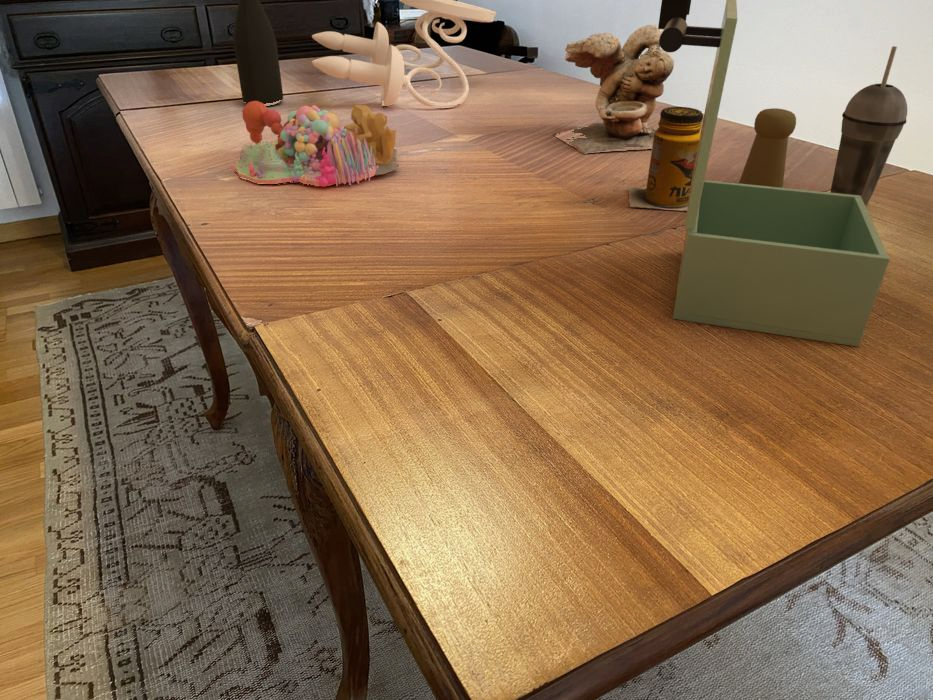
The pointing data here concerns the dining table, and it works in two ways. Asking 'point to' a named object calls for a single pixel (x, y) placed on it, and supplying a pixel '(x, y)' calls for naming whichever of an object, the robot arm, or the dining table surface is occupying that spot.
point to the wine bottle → (256, 54)
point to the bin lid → (723, 40)
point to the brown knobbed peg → (769, 148)
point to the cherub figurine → (622, 87)
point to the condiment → (671, 161)
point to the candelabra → (389, 60)
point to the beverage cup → (868, 136)
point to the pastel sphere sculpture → (316, 146)
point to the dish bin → (781, 262)
